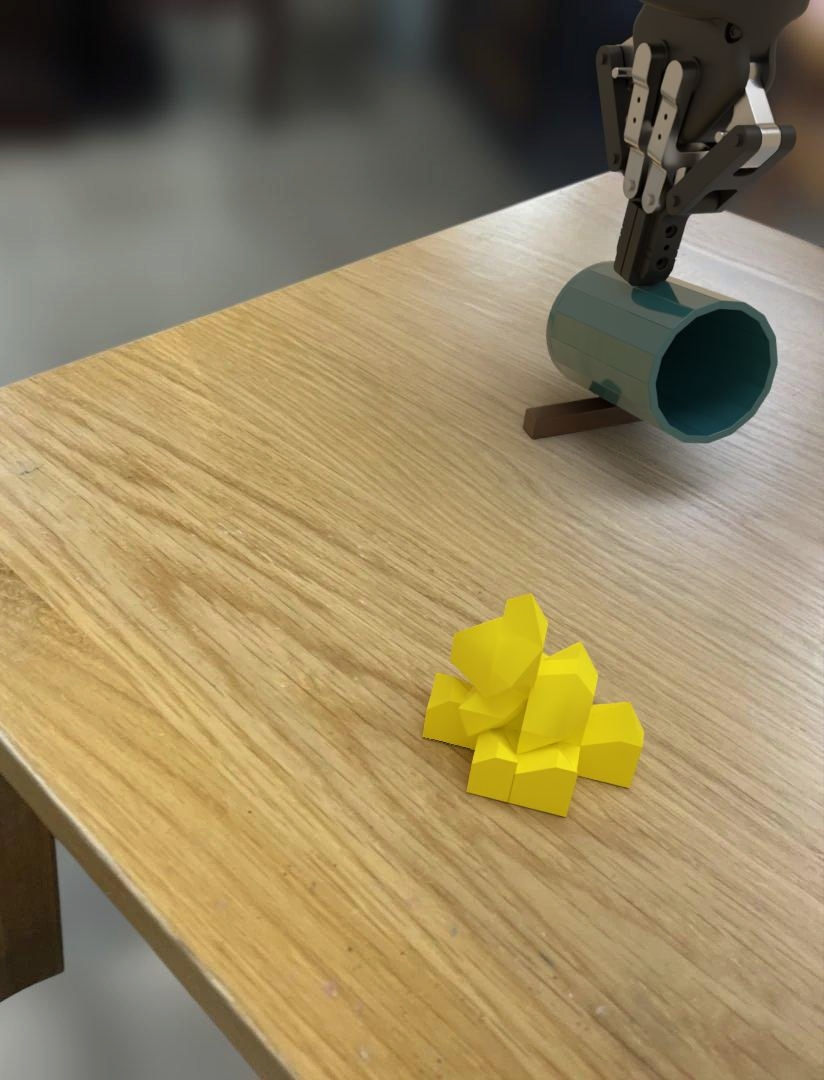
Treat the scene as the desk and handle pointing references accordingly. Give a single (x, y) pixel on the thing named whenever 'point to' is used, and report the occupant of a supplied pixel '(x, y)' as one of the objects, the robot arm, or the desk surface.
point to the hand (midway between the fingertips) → (638, 278)
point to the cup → (664, 351)
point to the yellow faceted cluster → (530, 714)
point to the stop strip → (573, 417)
